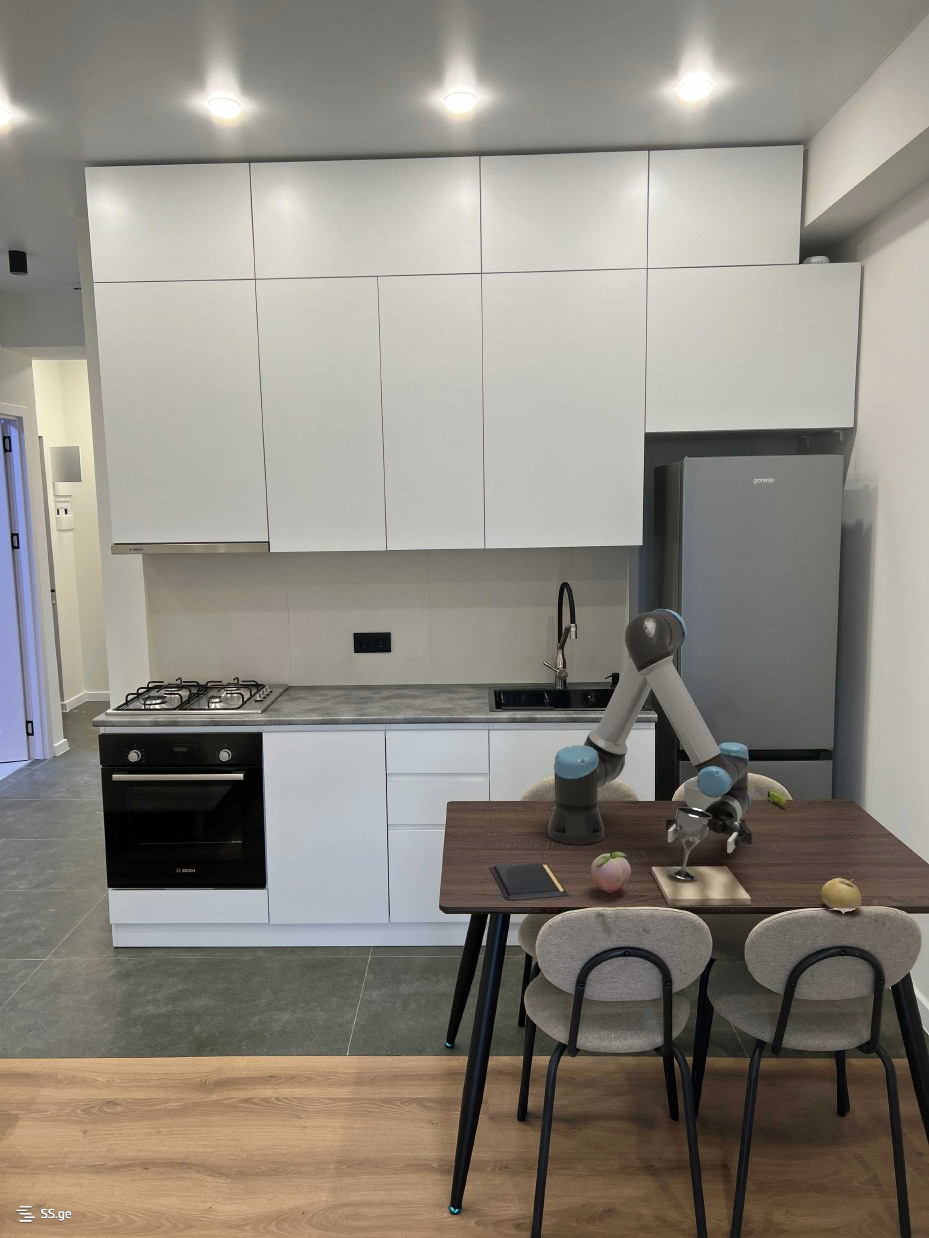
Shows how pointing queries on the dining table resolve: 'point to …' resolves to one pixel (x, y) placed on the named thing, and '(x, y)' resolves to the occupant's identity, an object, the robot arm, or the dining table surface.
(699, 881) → the board
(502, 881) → the wallet
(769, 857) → the dining table surface
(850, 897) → the onion
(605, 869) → the decorative fruit
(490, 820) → the dining table surface
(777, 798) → the kitchen knife
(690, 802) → the teacup
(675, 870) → the wine glass
